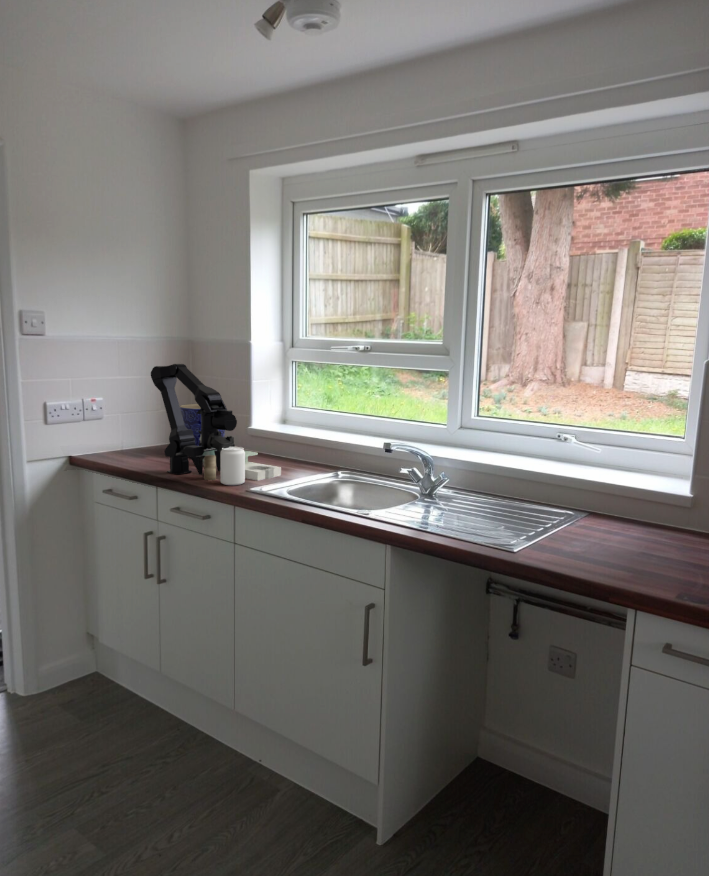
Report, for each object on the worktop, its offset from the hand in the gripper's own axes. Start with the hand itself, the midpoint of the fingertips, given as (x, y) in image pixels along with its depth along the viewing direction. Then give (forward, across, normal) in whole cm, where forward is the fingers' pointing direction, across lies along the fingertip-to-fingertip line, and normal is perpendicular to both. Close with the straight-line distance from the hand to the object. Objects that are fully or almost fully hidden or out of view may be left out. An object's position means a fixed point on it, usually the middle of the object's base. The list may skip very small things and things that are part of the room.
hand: (209, 472), depth 236 cm
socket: (+2, +15, -6) cm, 16 cm away
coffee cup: (+2, +17, +18) cm, 25 cm away
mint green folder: (+2, +16, +1) cm, 16 cm away
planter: (+2, +29, +36) cm, 46 cm away
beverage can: (+2, 0, -11) cm, 11 cm away
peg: (+2, 0, 0) cm, 2 cm away
